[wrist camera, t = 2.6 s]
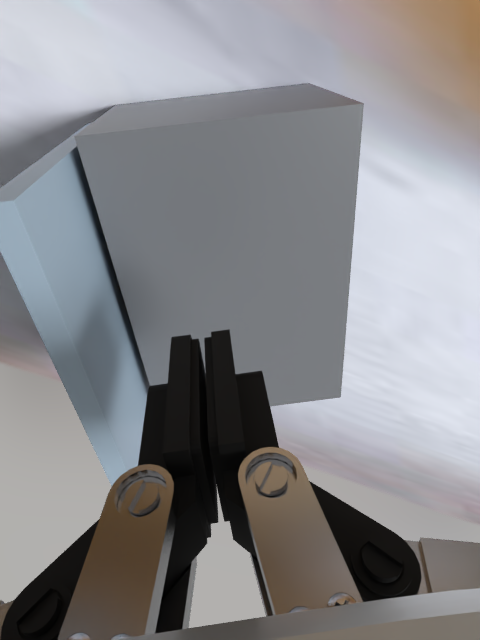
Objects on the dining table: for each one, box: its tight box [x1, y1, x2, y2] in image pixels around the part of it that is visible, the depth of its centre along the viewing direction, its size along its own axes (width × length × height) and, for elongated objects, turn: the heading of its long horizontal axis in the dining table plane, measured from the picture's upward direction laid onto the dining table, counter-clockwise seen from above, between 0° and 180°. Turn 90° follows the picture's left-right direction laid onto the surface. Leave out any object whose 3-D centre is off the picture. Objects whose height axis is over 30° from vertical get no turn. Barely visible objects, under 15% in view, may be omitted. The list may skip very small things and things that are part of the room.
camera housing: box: [74, 83, 364, 406], centre depth 20 cm, size 15×9×7 cm, turn 5°
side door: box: [0, 123, 150, 486], centre depth 17 cm, size 12×1×11 cm, turn 5°
